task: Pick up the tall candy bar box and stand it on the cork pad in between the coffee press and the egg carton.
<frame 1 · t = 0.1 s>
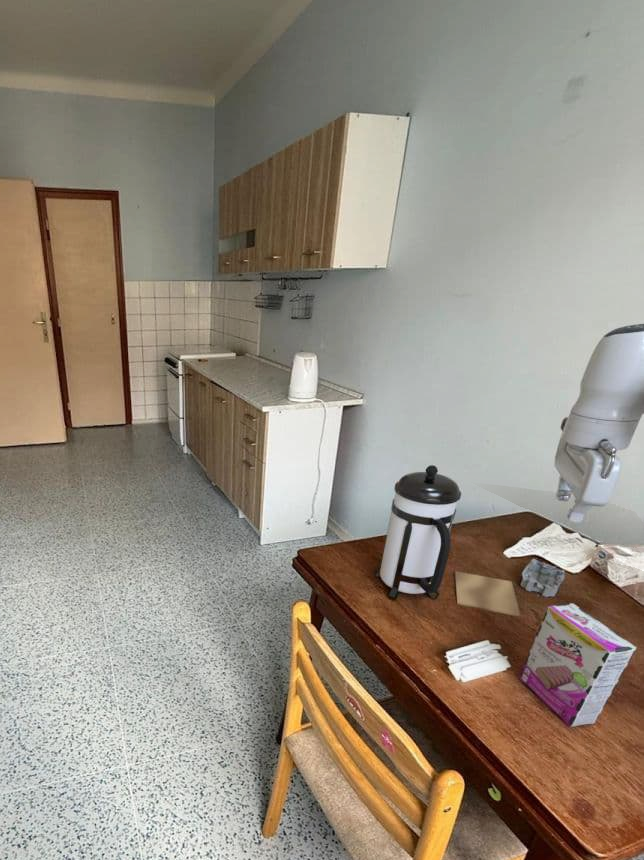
hand: (567, 509, 83), 28 cm above the table, tool pointing down, fingers open, 8 cm apart
candy bar box: (553, 701, 80), on the table
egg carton: (539, 584, 111), on the table
cork pad: (484, 593, 108), on the table
coffee press: (408, 590, 110), on the table
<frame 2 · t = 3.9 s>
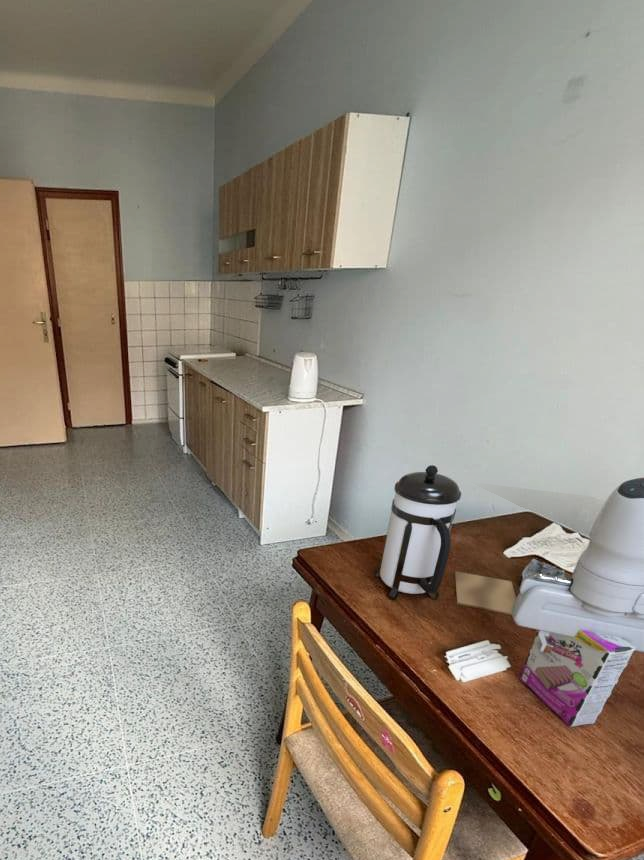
hand: (574, 657, 76), 10 cm above the table, tool pointing down, fingers closed on candy bar box, 7 cm apart
candy bar box: (553, 701, 80), on the table, touching gripper
everything else where it was.
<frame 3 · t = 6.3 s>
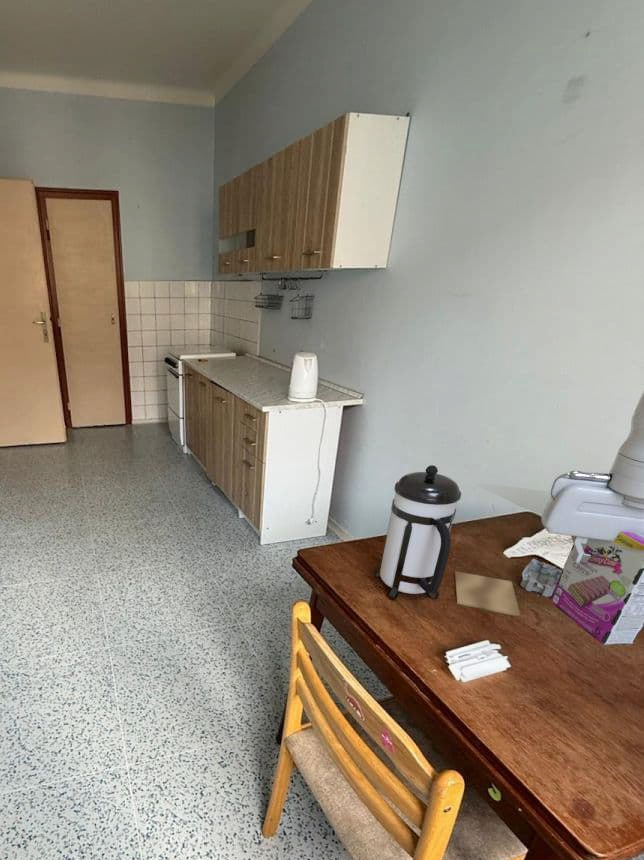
hand: (611, 567, 69), 26 cm above the table, tool pointing down, fingers closed on candy bar box, 6 cm apart
candy bar box: (587, 623, 73), point 16 cm above the table, touching gripper
everything else where it was.
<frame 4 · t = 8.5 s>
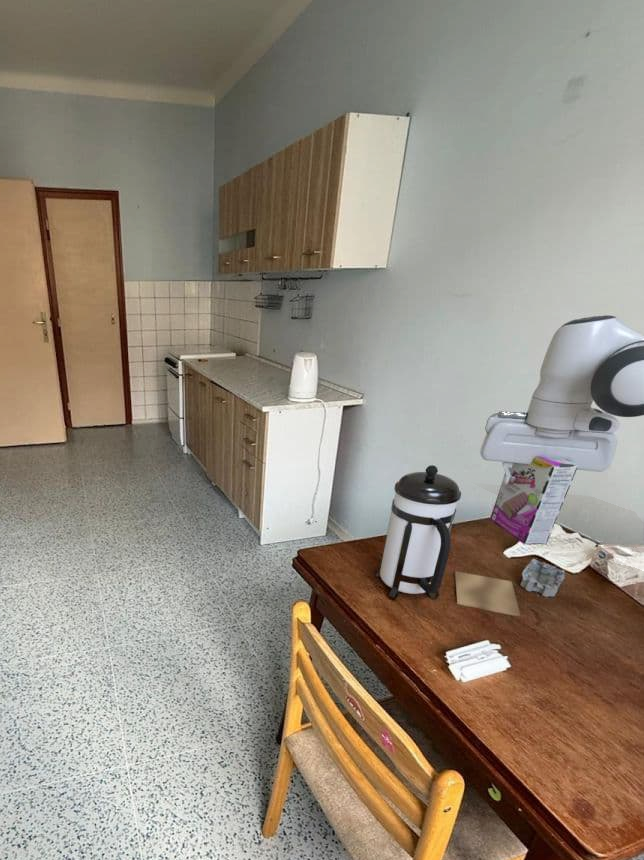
hand: (531, 486, 91), 28 cm above the table, tool pointing down, fingers closed on candy bar box, 6 cm apart
candy bar box: (515, 532, 96), point 18 cm above the table, touching gripper
everything else where it was.
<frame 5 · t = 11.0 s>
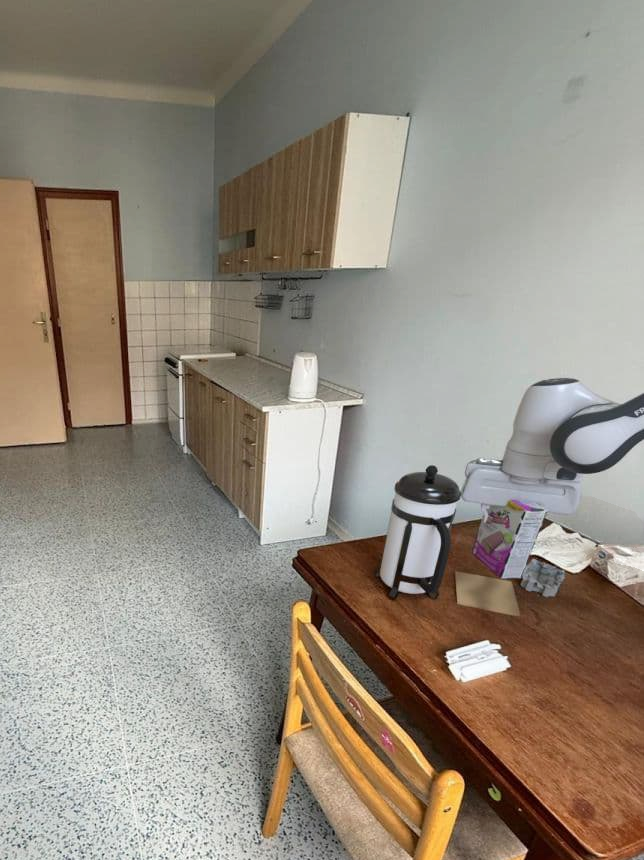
hand: (507, 525, 100), 17 cm above the table, tool pointing down, fingers closed on candy bar box, 6 cm apart
candy bar box: (494, 566, 104), point 7 cm above the table, touching gripper
everything else where it was.
when the fingers open (10 cm above the table, at t = 13.2 s): candy bar box stays where it is, resting on cork pad.
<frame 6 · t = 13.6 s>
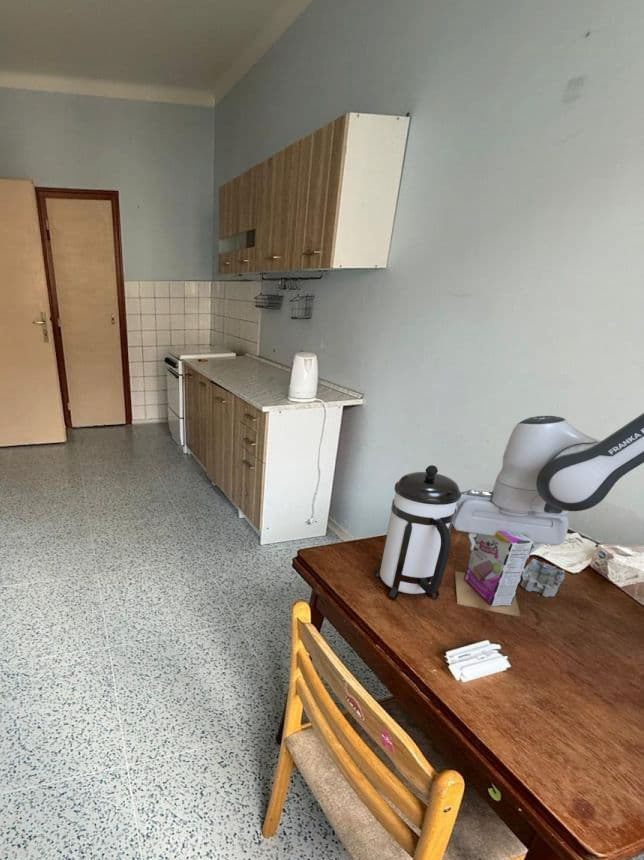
hand: (497, 553, 103), 11 cm above the table, tool pointing down, fingers open, 8 cm apart
candy bar box: (485, 593, 108), resting on cork pad
everything else where it was.
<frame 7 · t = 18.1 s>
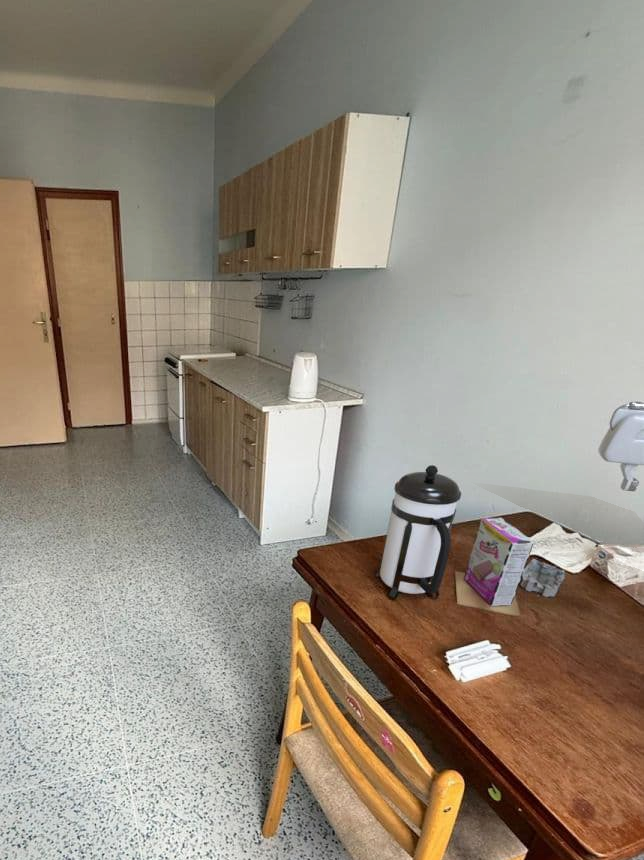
nothing on the table moved.
at the end: candy bar box inside the target area on the cork pad (0.4 cm from its centre), point 0.3 cm above the cork pad's base; candy bar box tilted 0°; coffee press moved 0.2 cm from its start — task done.
